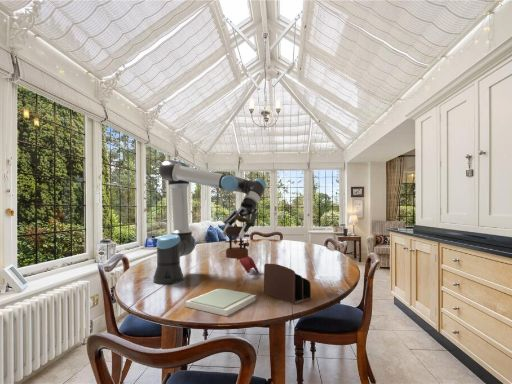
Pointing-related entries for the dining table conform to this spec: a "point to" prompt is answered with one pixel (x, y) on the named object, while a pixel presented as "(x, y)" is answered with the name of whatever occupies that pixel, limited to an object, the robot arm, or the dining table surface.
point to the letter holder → (286, 284)
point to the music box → (237, 251)
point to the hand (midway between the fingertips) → (231, 236)
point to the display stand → (221, 301)
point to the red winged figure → (248, 264)
